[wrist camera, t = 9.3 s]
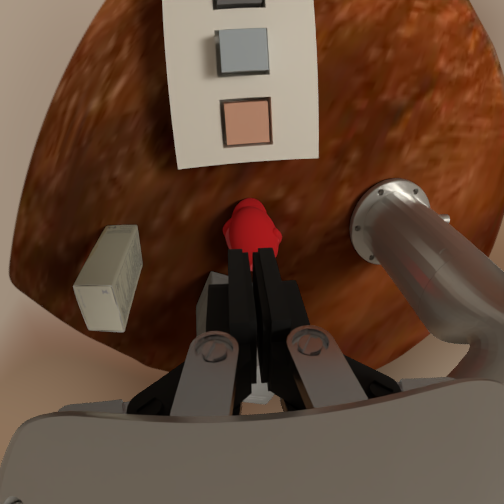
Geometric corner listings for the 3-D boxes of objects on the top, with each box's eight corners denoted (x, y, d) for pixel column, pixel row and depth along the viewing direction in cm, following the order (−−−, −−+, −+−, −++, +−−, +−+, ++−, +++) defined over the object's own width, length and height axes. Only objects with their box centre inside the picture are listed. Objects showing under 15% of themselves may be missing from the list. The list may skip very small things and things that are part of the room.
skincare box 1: (106, 224, 35) (69, 282, 25) (139, 223, 36) (112, 283, 26) (113, 267, 39) (86, 331, 28) (144, 267, 39) (125, 333, 29)
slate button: (261, 33, 24) (266, 28, 21) (263, 71, 26) (268, 69, 23) (218, 35, 24) (219, 30, 21) (221, 73, 26) (221, 72, 23)
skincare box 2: (195, 303, 43) (191, 399, 29) (213, 263, 40) (214, 360, 26) (250, 318, 45) (264, 410, 32) (271, 282, 42) (295, 375, 29)
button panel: (299, -31, 22) (308, -43, 19) (307, 149, 33) (318, 158, 30) (167, -25, 21) (161, -37, 18) (182, 159, 33) (178, 169, 29)
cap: (285, 268, 37) (299, 243, 32) (240, 284, 36) (247, 261, 30) (257, 215, 40) (266, 186, 35) (214, 228, 39) (217, 199, 33)
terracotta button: (263, 99, 29) (267, 101, 26) (265, 136, 31) (269, 141, 28) (223, 102, 28) (224, 103, 26) (226, 139, 30) (227, 145, 28)
